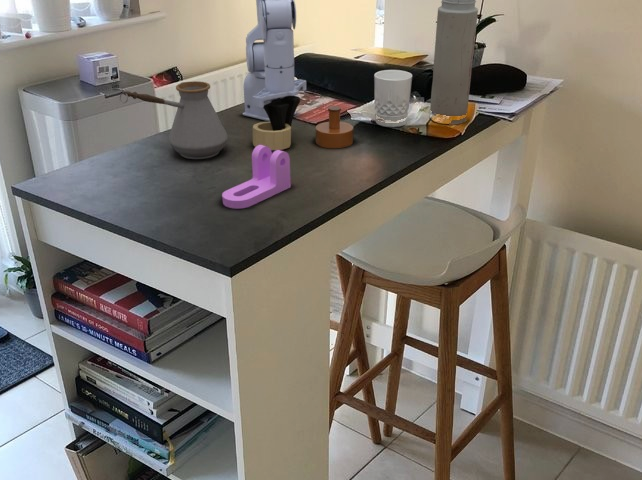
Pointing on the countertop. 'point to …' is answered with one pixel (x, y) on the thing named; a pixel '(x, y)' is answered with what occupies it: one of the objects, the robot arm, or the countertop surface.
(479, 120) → the countertop surface
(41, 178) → the countertop surface
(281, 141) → the ring
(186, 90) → the coffee pot
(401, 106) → the white cup
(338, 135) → the wooden peg base
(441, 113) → the thermos bottle
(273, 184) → the bracket
